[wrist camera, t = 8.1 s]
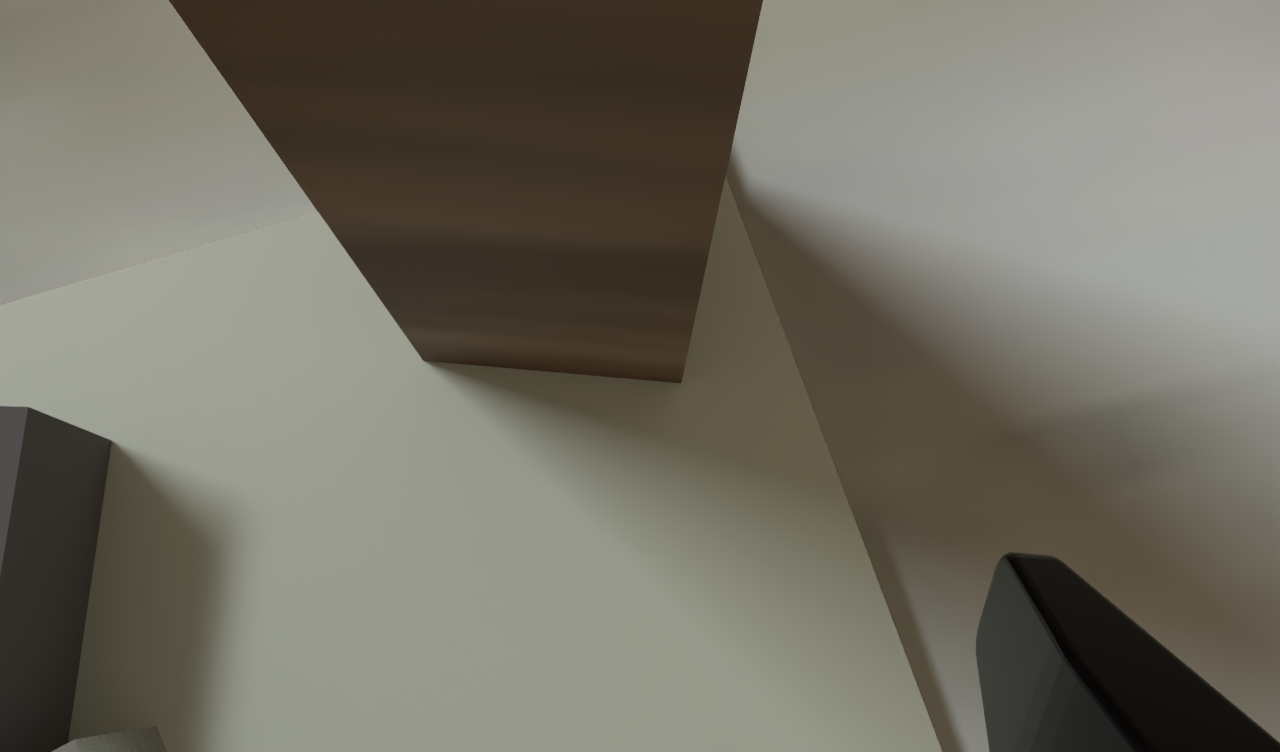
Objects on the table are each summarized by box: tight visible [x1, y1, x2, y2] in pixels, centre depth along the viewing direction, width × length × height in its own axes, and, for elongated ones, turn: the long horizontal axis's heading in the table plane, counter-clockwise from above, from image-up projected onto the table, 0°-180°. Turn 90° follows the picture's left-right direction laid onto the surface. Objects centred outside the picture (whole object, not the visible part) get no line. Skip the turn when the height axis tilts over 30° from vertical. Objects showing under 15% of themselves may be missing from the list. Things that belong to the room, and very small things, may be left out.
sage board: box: [0, 176, 942, 752], centre depth 17 cm, size 14×16×1 cm
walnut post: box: [169, 0, 763, 383], centre depth 12 cm, size 4×4×12 cm
